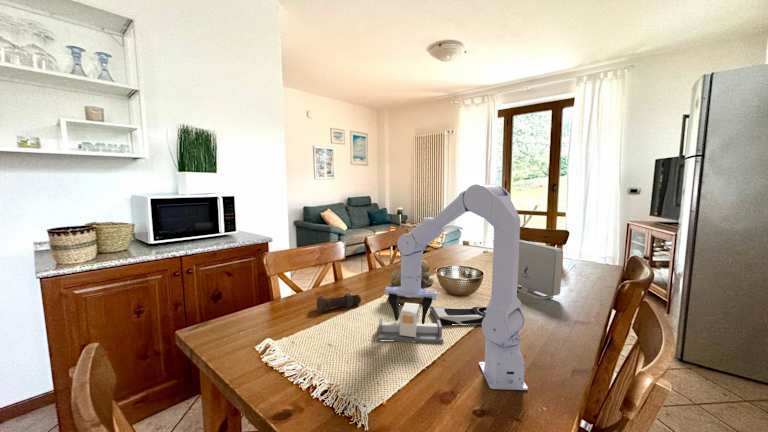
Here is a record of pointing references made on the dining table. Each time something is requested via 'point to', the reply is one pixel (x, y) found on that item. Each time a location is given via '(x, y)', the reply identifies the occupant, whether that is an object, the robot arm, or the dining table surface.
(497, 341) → the robot arm
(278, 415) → the dining table surface
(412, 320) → the block
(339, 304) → the bolt
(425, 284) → the tan lumpy piece
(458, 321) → the graphics card
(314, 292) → the dining table surface
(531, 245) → the network device
